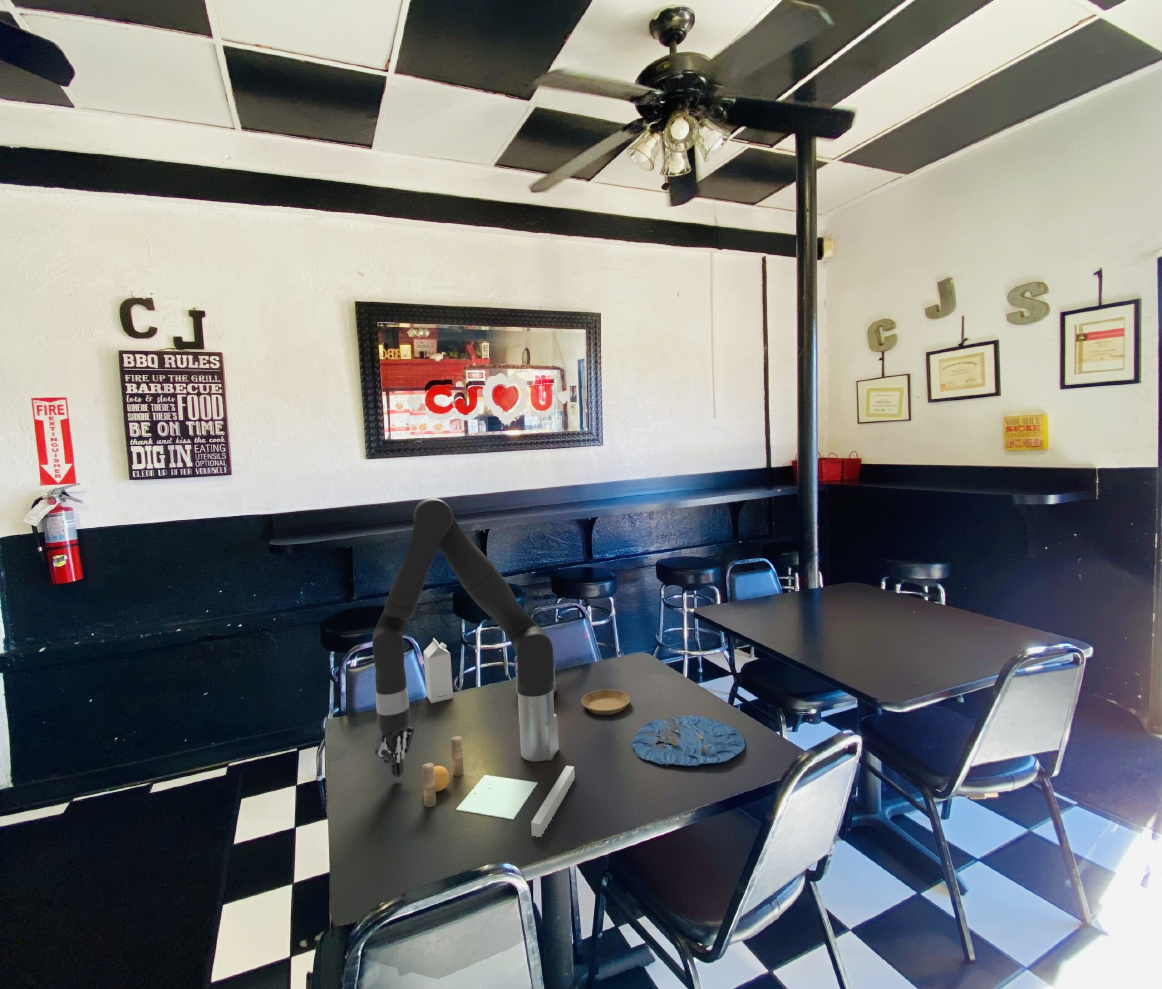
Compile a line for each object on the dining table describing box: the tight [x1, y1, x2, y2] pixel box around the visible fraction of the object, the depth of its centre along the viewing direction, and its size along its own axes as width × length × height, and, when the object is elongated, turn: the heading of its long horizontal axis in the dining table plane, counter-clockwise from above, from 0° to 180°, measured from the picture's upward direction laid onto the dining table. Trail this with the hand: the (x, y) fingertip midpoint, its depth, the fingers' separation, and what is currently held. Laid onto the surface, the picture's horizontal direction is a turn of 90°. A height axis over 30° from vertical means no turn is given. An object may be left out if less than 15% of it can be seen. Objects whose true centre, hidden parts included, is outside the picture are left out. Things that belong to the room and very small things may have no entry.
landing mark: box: [455, 774, 539, 821], centre depth 135 cm, size 14×14×1 cm
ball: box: [434, 765, 450, 792], centre depth 139 cm, size 6×6×6 cm
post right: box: [450, 735, 465, 777], centre depth 145 cm, size 3×3×9 cm
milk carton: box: [423, 637, 454, 704], centre depth 190 cm, size 7×7×19 cm
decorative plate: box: [631, 715, 746, 767], centre depth 155 cm, size 30×30×5 cm
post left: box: [421, 762, 437, 808], centre depth 133 cm, size 3×3×9 cm
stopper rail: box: [530, 765, 576, 838], centre depth 131 cm, size 2×22×3 cm, turn 162°
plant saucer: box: [581, 689, 631, 716], centre depth 179 cm, size 15×15×3 cm
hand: (398, 774), depth 143 cm, fingers closed
